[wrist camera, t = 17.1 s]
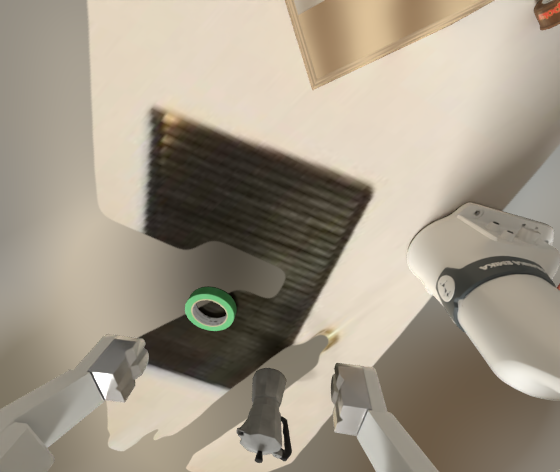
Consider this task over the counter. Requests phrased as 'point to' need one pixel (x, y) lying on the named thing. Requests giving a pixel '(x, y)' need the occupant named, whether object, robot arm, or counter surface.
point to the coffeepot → (266, 417)
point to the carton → (365, 30)
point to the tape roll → (216, 296)
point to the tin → (547, 13)
